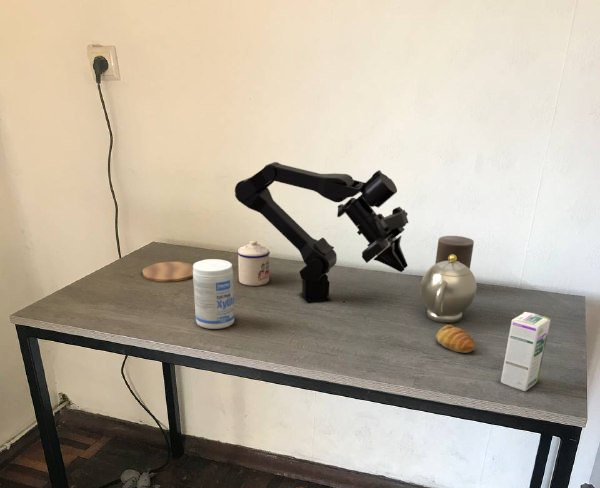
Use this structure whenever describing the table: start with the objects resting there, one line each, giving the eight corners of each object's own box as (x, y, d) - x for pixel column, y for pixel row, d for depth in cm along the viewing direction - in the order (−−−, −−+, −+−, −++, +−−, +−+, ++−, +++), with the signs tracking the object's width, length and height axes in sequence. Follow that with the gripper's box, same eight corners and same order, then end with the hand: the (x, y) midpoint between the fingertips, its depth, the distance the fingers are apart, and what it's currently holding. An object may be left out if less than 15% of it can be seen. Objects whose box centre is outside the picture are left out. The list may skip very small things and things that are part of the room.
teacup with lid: (263, 288, 178) (263, 247, 172) (233, 284, 180) (232, 243, 175) (277, 274, 188) (277, 235, 182) (248, 271, 190) (247, 232, 185)
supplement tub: (225, 332, 152) (222, 273, 144) (189, 327, 154) (184, 268, 147) (240, 318, 160) (239, 260, 152) (206, 313, 162) (202, 256, 155)
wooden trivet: (145, 284, 179) (145, 281, 179) (140, 266, 193) (140, 263, 192) (201, 279, 184) (201, 276, 183) (193, 262, 197) (193, 259, 196)
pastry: (481, 351, 146) (484, 335, 144) (459, 357, 142) (462, 342, 141) (453, 336, 152) (455, 321, 150) (431, 342, 149) (433, 327, 147)
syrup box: (525, 392, 129) (540, 326, 122) (498, 382, 132) (511, 318, 125) (537, 382, 133) (552, 318, 125) (511, 373, 136) (524, 310, 129)
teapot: (425, 303, 171) (433, 242, 162) (476, 312, 166) (487, 250, 158) (406, 327, 157) (413, 262, 148) (461, 337, 152) (471, 271, 143)
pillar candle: (445, 295, 176) (452, 241, 168) (425, 284, 184) (432, 232, 176) (474, 291, 179) (482, 238, 172) (453, 280, 187) (461, 229, 180)
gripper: (378, 206, 145) (420, 260, 147) (400, 190, 160) (438, 239, 162) (344, 236, 151) (385, 287, 153) (367, 218, 166) (404, 265, 168)
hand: (404, 269), depth 159 cm, fingers open, 3 cm apart
